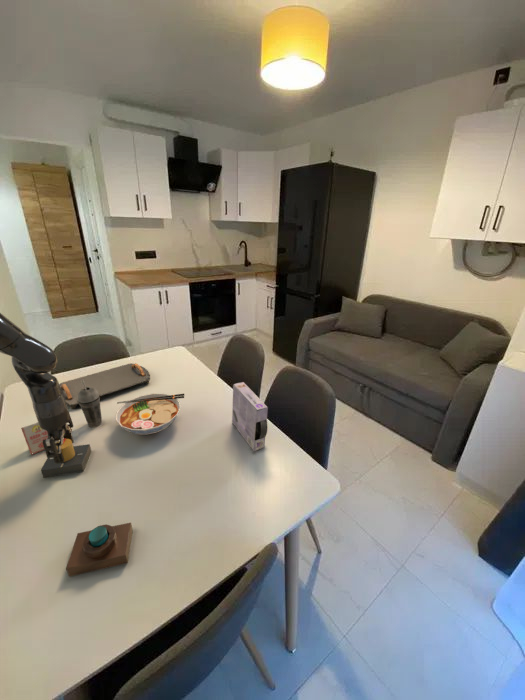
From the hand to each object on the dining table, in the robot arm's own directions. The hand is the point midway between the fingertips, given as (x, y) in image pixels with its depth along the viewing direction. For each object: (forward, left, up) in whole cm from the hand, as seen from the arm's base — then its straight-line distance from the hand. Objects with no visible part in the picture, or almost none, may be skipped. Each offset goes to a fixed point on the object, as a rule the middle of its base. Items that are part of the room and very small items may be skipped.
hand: (65, 452), depth 91 cm
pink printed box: (-11, +10, -5) cm, 16 cm away
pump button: (+17, -32, 0) cm, 36 cm away
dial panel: (0, 0, -5) cm, 5 cm away
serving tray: (+1, +48, -5) cm, 48 cm away
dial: (0, 0, -2) cm, 2 cm away
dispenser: (+17, -32, -5) cm, 37 cm away
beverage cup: (+3, +20, -5) cm, 21 cm away
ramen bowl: (+24, +14, -5) cm, 28 cm away
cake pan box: (+59, +1, -5) cm, 59 cm away
